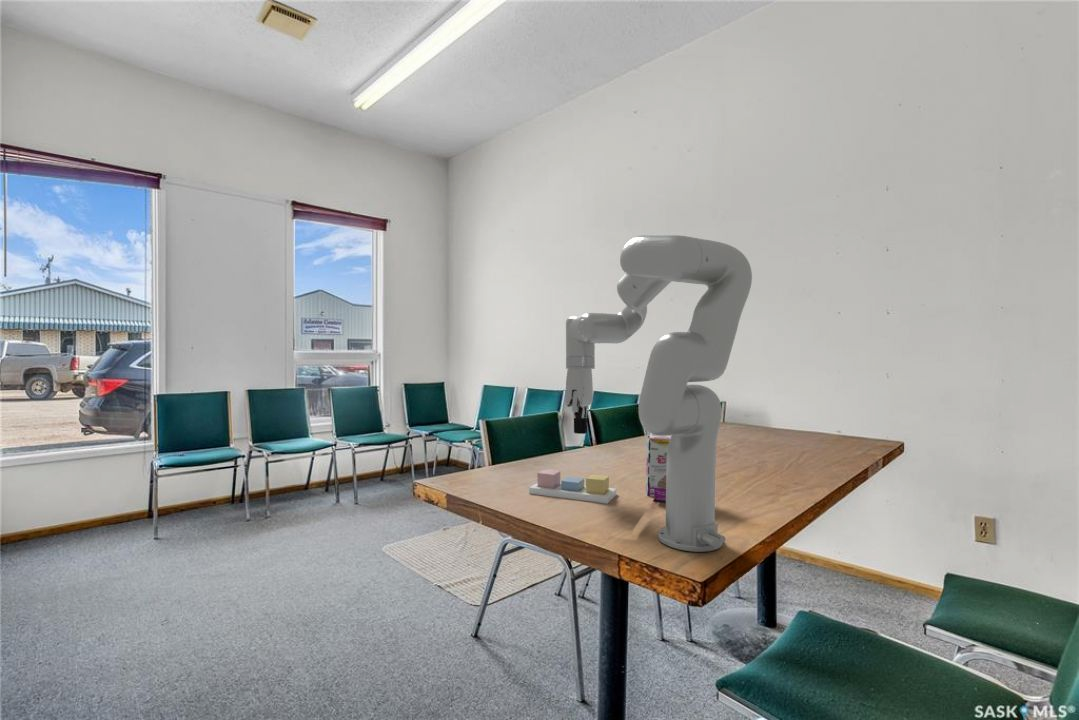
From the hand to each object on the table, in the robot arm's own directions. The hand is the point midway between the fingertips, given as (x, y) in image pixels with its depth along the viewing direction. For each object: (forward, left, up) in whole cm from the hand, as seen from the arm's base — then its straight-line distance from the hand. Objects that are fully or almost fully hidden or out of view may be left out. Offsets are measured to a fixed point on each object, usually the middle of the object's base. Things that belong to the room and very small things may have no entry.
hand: (580, 433), depth 134 cm
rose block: (+3, +8, -15) cm, 17 cm away
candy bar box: (-11, -20, -17) cm, 28 cm away
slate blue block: (-2, +3, -17) cm, 17 cm away
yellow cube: (-7, -2, -15) cm, 17 cm away
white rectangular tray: (-2, +3, -17) cm, 17 cm away
